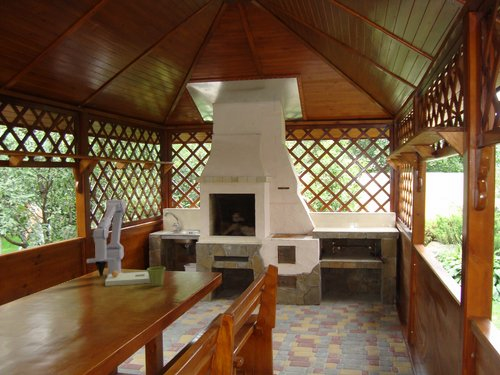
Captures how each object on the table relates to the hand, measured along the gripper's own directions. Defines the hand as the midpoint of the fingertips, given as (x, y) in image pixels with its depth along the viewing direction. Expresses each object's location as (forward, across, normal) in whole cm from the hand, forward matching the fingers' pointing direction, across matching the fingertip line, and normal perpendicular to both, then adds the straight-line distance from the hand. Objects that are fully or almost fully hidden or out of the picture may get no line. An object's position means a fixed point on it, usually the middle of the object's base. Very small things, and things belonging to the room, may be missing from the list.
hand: (101, 275), depth 223 cm
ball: (0, +7, 0) cm, 7 cm away
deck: (+4, +15, 0) cm, 15 cm away
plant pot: (+4, +29, -14) cm, 32 cm away
